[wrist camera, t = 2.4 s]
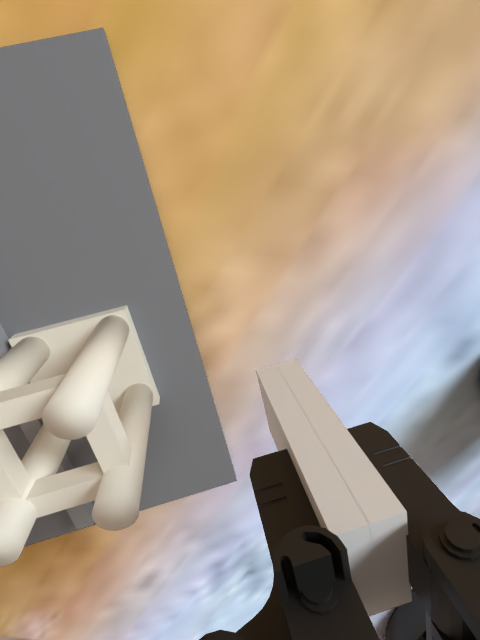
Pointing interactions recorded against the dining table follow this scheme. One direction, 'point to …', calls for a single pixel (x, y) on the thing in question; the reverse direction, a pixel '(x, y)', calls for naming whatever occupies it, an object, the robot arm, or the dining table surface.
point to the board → (96, 256)
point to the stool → (74, 423)
